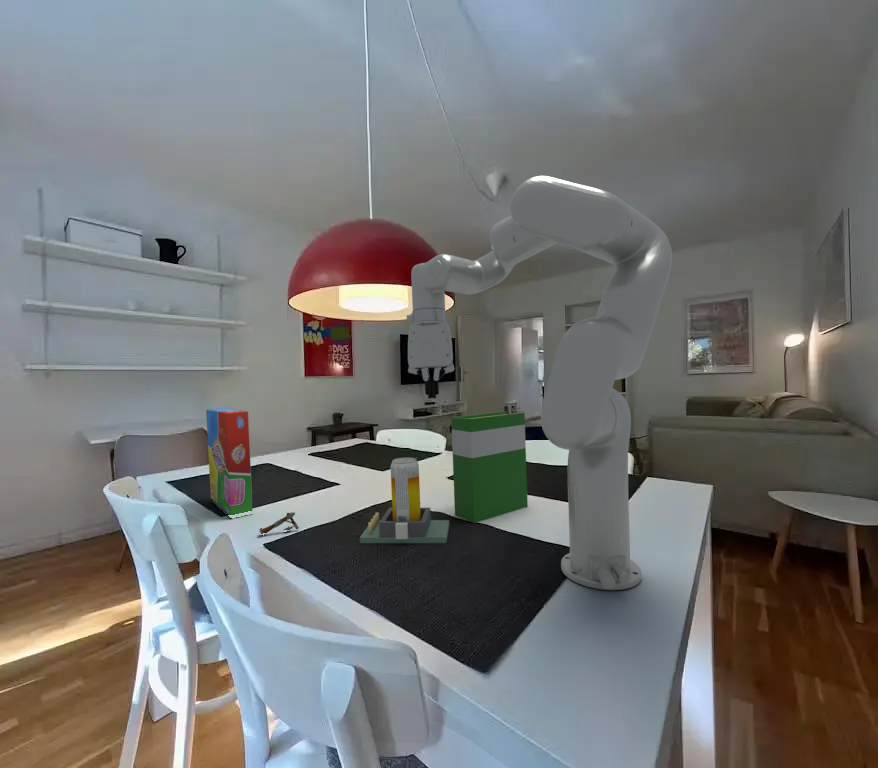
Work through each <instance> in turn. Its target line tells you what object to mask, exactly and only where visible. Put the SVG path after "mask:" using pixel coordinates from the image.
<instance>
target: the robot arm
mask: <svg viewBox="0 0 878 768" xmlns="http://www.w3.org/2000/svg"><path fill="white" fill-rule="evenodd" d="M509 212H510V215H508V216H507V217H506V218H503V219H502V220H500V221H499V222H497V223H495V224H494V225H493V226H492V228H491V229H490V233H489V241H490V242H489V243H490V246H491V249H492V250H491V251H490V252H488V253H486V254H484V255H483V256H481V257H478V258H477V259H475V260H471V259H467V258H464V257H460V256H456V255H451V254H448V253H441V254H438V255H436V256H434V257H433V258H431V259H430V260H428V261H426V262H421V263H418V264H415V265H414V266H413V267H412V269H411V273H410V276H411V297H412V299H411V300H412V312H411V313H410V314H407V315H406V321H408V322H409V321H410V322H412V323H413V324H410V325H409V328H408V335H407V336H408V337H407V340H408V341H407V363H408V369H407V372H408V373H409V374H413V375H418V376H419V377H420V378H421V379H422V380H423V381H424V390H425V392H424V393H425V395H426V396H427V399H429V400H431V399H436V398H437V395H440V392H439V391H440V389H439V388H440V387H439V385H440V384H439V380H440V379H441V378H442V377H443V376H444V375H445V374H448V373H452V372H455V366H454V363H453V361H454V353H453V352H454V351H453V342H452V341H453V340H452V333H451V328H450V324H449V323H448V322H447V321H446V293H445V292H451V293H456V294H457V293H458V294H462V295H469V296H470V295H476V294H479V293H481V292H483V291H486V290H488V289H491V288H492V287H495V286H496V285H499V284H500V283H502V282H503V281H504V280H505V279H506V278H507V276H508V275H509V274H510V273H511V272H512V271H513V269H514V266H516V265H517V264H519V263H521V262H522V261H525V260H527V259H529V258H531V257H533V256H535V255H537V254H539V253H541V252H543V251H545V250H547V249H549V248H550V247H553V246H555V245H556V244H559V243H560V244H562V245H564V246H567V247H569V248H572V249H575V250H577V251H580V252H581V253H583V254H587V255H588V256H591V257H594V258H597V259H599V260H602V261H604V262H607V263H609V264H611V265H612V266H613V273H612V274H611V276H610V277H609V279H608V281H607V283H606V285H605V287H604V289H603V291H602V295H601V299H600V303H599V307H598V309H597V312H596V316H595V317H588V318H583V319H580V320H578V321H577V322H576V323H574V324H573V325H572V326H571V327H570V328H568V329H567V331H566V332H565V333H564V335H562V338H561V339H560V341H559V344H558V347H557V349H556V352H555V355H554V358H553V363H552V365H551V370H550V373H549V377H548V381H547V384H546V386H545V387H546V389H545V391H544V395H543V399H542V403H541V409H540V424H541V427H542V431H543V434H544V435H545V437H546V438H547V440H548V441H549V442H551V443H552V444H553V445H554V446H556V447H558V448H560V449H561V450H567V451H568V455H567V499H568V508H567V509H568V531H569V534H568V535H569V553H566V554H565V555H564V556H563V557H562V558H561V561H560V568H561V572H562V573H563V575H565V576H566V577H567V578H568V579H569V580H571V581H573V582H574V583H577V584H579V585H581V586H585V587H588V588H592V589H597V590H603V591H621V590H628V589H630V588H633V587H635V586H636V585H638V584H640V582H641V580H642V571H641V568H640V566H639V565H638V564H637V563H636V562H635V561H634V560H632V559H631V541H630V540H631V539H630V508H629V507H630V506H629V446H630V436H631V430H632V429H631V427H632V416H631V409H630V406H629V404H628V401H627V399H626V398H625V396H623V395H622V394H621V392H619V391H618V390H616V389H615V388H613V387H614V384H615V381H617V380H623V379H626V378H628V377H631V376H633V375H634V374H635V373H636V372H637V371H638V370H639V368H640V367H641V365H642V364H643V361H644V358H645V354H646V351H647V348H648V346H649V341H650V338H651V335H652V332H653V329H654V326H655V322H656V320H657V317H658V314H659V309H660V306H661V303H662V299H663V296H664V293H665V291H666V287H667V284H668V282H669V278H670V275H671V270H672V266H673V250H672V246H671V243H670V240H669V238H668V236H667V235H666V233H665V231H663V230H662V228H660V227H659V226H658V225H657V224H656V223H654V221H652V220H651V219H649V218H648V217H647V216H645V214H642V213H641V212H640V211H638V210H637V209H636V208H635V207H633V206H631V205H629V204H628V203H627V202H625V201H624V200H623V199H621V198H620V197H618V196H617V195H615V194H613V193H611V192H609V191H607V190H603V189H600V188H596V187H592V186H589V185H585V184H579V183H576V182H571V181H568V180H564V179H560V178H558V177H557V178H556V177H555V176H554V177H553V176H549V175H537V176H533V177H530V178H529V179H526V180H524V181H523V182H522V183H521V184H520V185H519V186H518V187H517V188H516V190H515V191H514V193H513V195H512V198H511V200H510V207H509ZM429 368H433V369H434V370H433V377H432V378H431V377H430V373H429V372H430V371H429Z"/></svg>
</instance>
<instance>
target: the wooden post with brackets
mask: <svg viewBox="0 0 878 768" xmlns="http://www.w3.org/2000/svg"><path fill="white" fill-rule="evenodd" d="M295 515H296V512H294V511H293V512H291V511H290V512H286V515H285V516H284V517H283V518H279V519H278V520H277V521H275V522H274V523H273V524H271V525H269V526H267V527H264V528H262V527H260V528H259V533H260V535H261V534H263V533H266V534H268V533H269V532H270V531H271V530H274V529H275V528H277V527H279V526H281V525H283V524H284V523H290V524H292V526H289V525H288V526H287V527H286V528H283V531H284V530H290V529H291V530H292V529H293V528H295V530H296V529H298V528H299V529H300V527H299V526H298V524H297V522H296V521H295V520H294V518H293V517H295ZM299 529H298V530H299ZM291 530H290V531H291ZM267 532H268V533H267Z"/></svg>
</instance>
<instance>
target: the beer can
mask: <svg viewBox="0 0 878 768" xmlns="http://www.w3.org/2000/svg"><path fill="white" fill-rule="evenodd" d="M390 482H391V483H390V485H391V486H390V487H391V506H392V507H391V508H392V512H393V521H421V511H420V508H421V492H420V489H421V488H420V467H419V463H418V459H417V458H414V457H399V458H394V459H392V461H391V464H390Z"/></svg>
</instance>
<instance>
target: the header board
mask: <svg viewBox="0 0 878 768" xmlns="http://www.w3.org/2000/svg"><path fill="white" fill-rule="evenodd" d="M420 511H421V521H393V512H392V507H388V509H387V510H386V512H385V513H384V515H383V516H382V518H381V519H380V513H379V512H374V513H375V515H372V518H371V519H370V521H368V525H367V526H366V528H365V530H363V533H362V534H361V535H360V537H359V544H447V541H448V536H449V531H450V520H449V519H447V520H446V519H432V517H431V515H432V514H431V513H432V512H431V507H420Z"/></svg>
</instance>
